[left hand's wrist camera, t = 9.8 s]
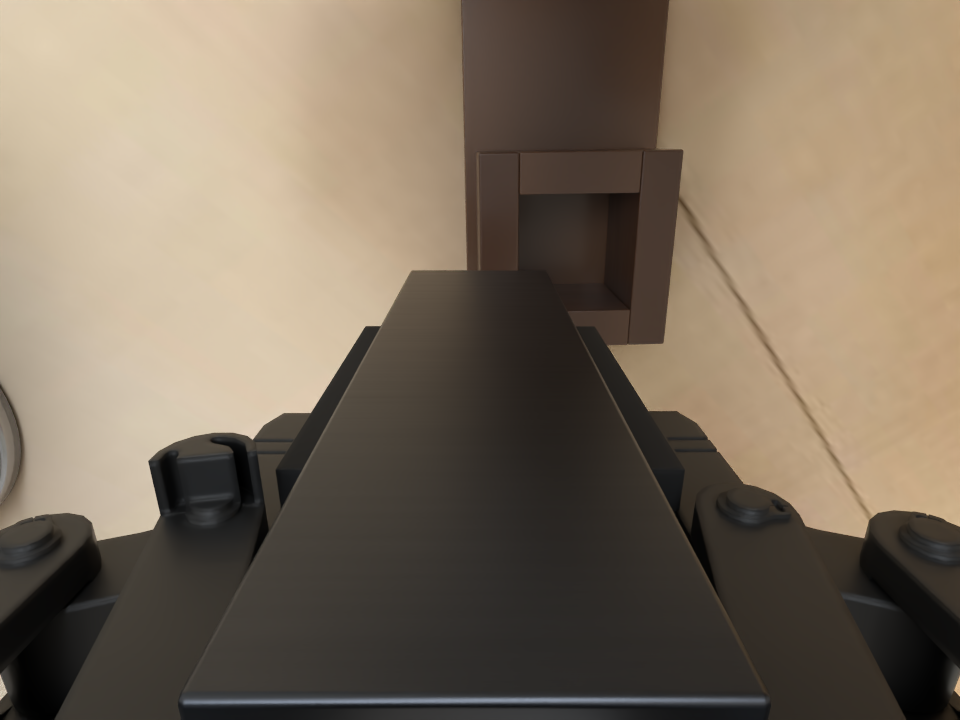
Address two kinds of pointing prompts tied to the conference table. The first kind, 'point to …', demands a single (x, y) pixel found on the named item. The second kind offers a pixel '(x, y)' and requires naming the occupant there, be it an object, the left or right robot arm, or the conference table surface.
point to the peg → (476, 543)
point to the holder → (572, 155)
